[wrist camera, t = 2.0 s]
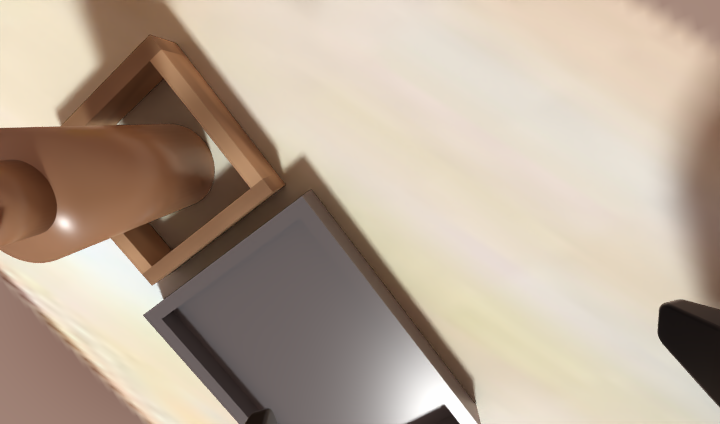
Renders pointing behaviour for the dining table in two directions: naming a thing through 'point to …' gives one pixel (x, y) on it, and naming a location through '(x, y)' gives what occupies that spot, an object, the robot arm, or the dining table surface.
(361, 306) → the tray
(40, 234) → the bottle
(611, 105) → the dining table surface
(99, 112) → the stand
